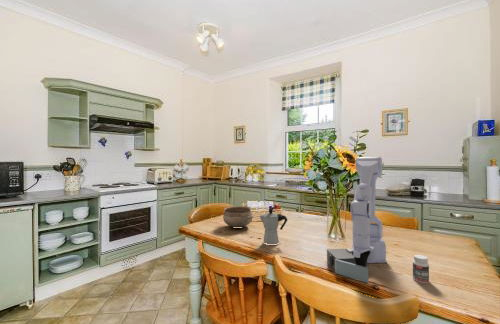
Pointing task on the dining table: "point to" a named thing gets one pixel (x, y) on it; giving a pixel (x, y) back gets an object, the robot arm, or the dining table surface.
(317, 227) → the dining table surface
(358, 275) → the side door
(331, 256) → the camera housing
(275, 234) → the coffee maker
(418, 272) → the pill bottle
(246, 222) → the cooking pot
